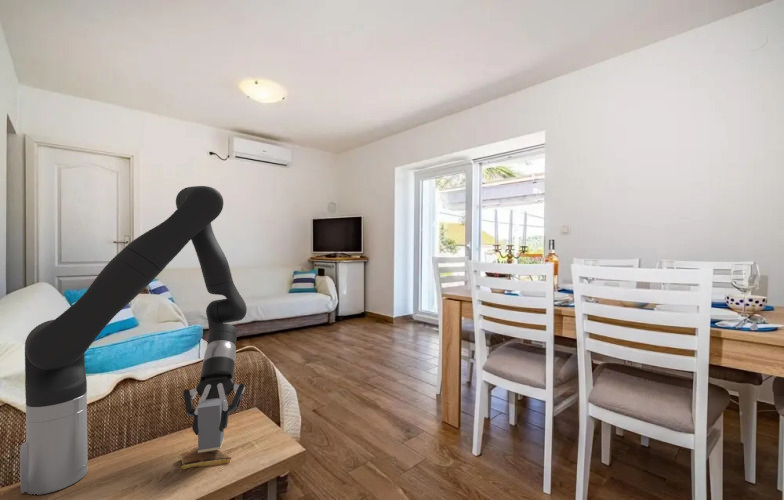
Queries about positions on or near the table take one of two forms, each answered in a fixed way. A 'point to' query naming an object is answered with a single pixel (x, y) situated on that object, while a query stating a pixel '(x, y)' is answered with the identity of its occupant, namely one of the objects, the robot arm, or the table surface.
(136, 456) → the table surface
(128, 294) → the robot arm
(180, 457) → the shard
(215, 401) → the sanding block
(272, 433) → the table surface
